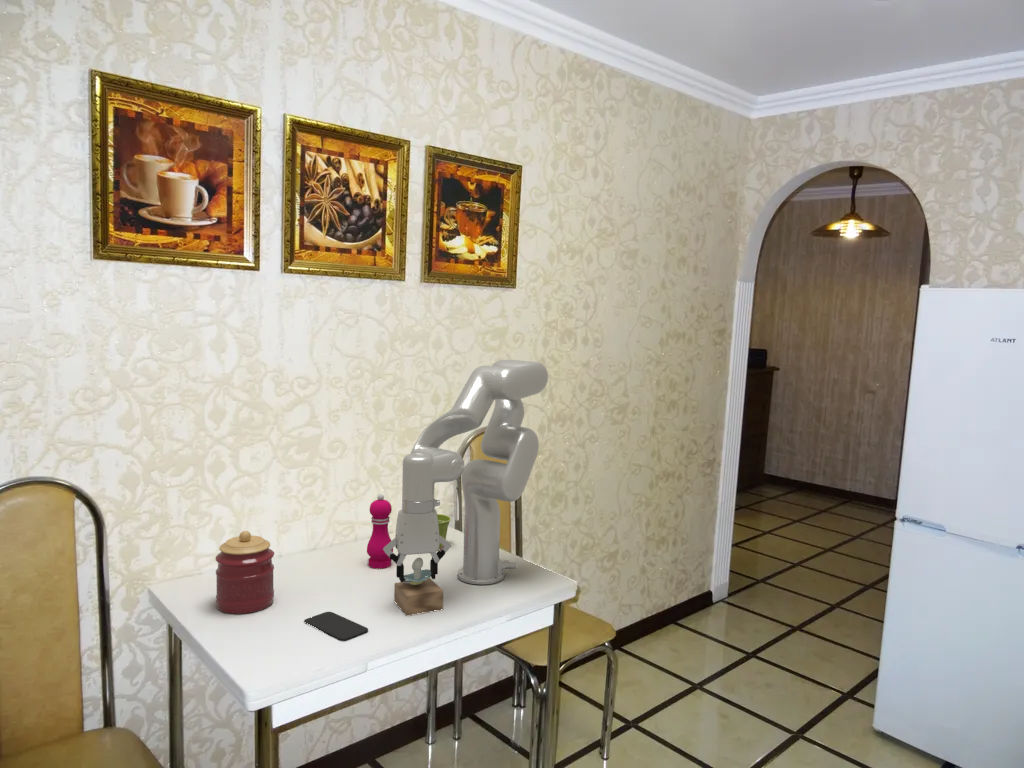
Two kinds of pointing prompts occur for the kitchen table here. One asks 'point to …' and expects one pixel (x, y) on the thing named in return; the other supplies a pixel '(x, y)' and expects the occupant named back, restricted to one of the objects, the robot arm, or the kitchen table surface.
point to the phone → (337, 626)
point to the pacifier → (417, 573)
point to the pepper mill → (379, 533)
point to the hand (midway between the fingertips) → (417, 578)
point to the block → (418, 597)
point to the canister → (244, 574)
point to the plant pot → (443, 526)
